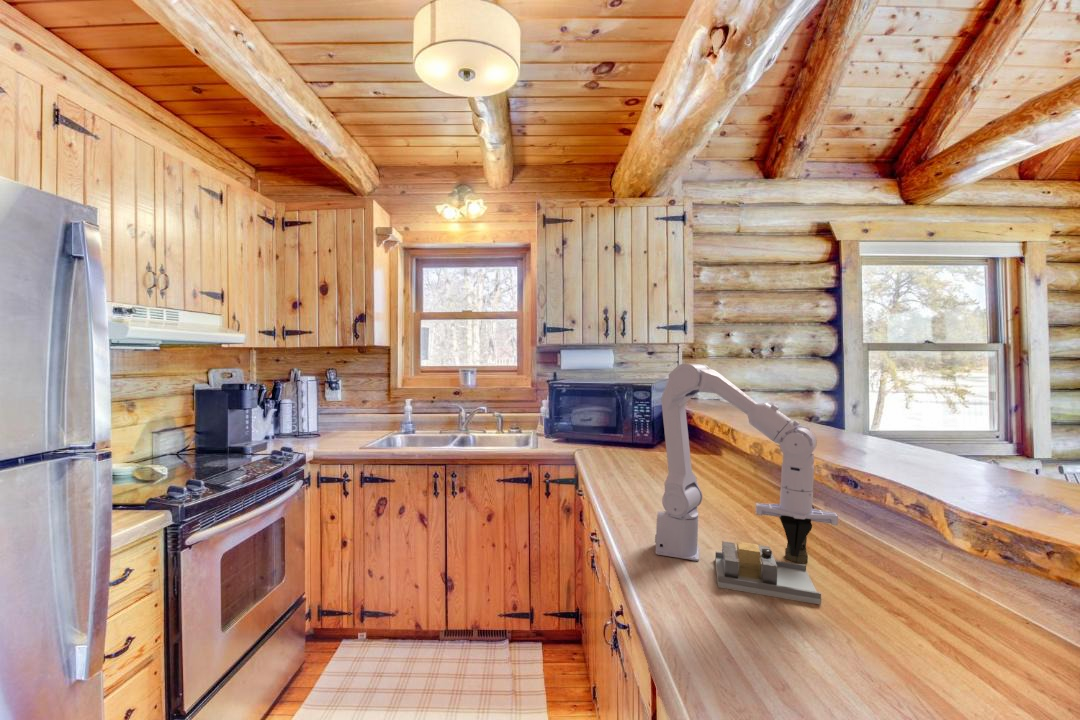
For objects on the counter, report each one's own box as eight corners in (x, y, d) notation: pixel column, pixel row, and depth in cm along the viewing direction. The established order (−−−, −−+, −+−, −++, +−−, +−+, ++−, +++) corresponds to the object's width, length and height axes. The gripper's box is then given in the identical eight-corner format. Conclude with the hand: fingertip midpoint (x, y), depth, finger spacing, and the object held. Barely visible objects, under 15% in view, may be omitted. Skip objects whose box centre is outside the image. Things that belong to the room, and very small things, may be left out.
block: (737, 575, 96) (738, 549, 96) (736, 567, 100) (737, 541, 100) (759, 579, 95) (760, 552, 95) (756, 570, 99) (757, 544, 99)
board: (718, 587, 93) (718, 577, 93) (715, 559, 106) (715, 551, 106) (820, 604, 88) (821, 594, 88) (805, 573, 100) (805, 564, 100)
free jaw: (761, 584, 92) (762, 559, 92) (755, 563, 102) (755, 540, 102) (776, 586, 91) (777, 561, 91) (769, 565, 101) (769, 542, 101)
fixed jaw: (724, 579, 94) (725, 560, 94) (721, 559, 104) (722, 541, 104) (739, 582, 93) (739, 562, 93) (735, 561, 103) (735, 543, 103)
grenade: (815, 568, 103) (818, 500, 102) (785, 562, 105) (788, 496, 105) (812, 553, 111) (814, 490, 110) (784, 548, 113) (786, 486, 113)
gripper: (759, 488, 93) (756, 556, 93) (844, 498, 88) (840, 569, 89) (755, 479, 100) (752, 542, 100) (833, 487, 95) (830, 554, 95)
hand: (793, 554), depth 95 cm, fingers closed
